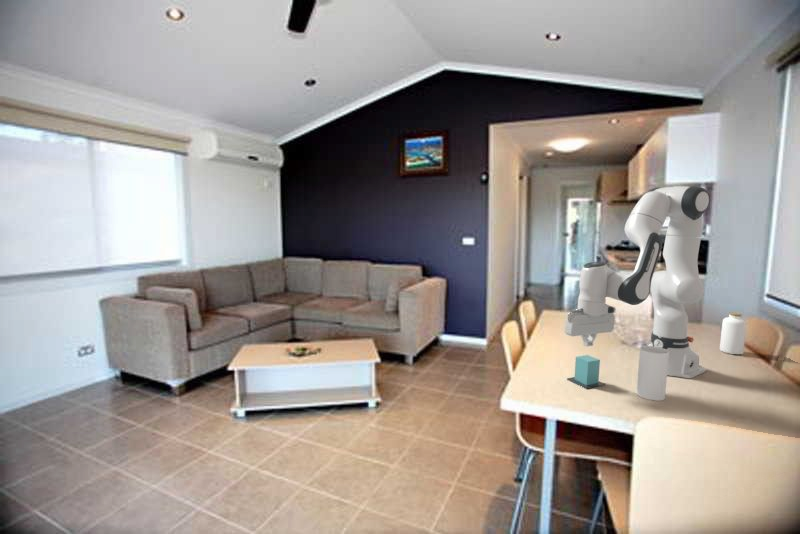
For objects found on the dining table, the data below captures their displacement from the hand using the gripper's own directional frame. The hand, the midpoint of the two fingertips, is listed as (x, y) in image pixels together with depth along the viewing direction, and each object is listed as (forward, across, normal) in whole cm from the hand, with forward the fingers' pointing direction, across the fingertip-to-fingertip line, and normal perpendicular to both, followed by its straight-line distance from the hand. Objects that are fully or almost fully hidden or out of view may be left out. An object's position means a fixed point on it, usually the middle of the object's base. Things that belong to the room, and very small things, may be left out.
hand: (588, 345), depth 146 cm
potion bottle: (+13, +89, +2) cm, 90 cm away
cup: (+14, +12, -16) cm, 25 cm away
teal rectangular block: (+13, 0, 0) cm, 13 cm away
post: (+14, 0, 0) cm, 14 cm away
